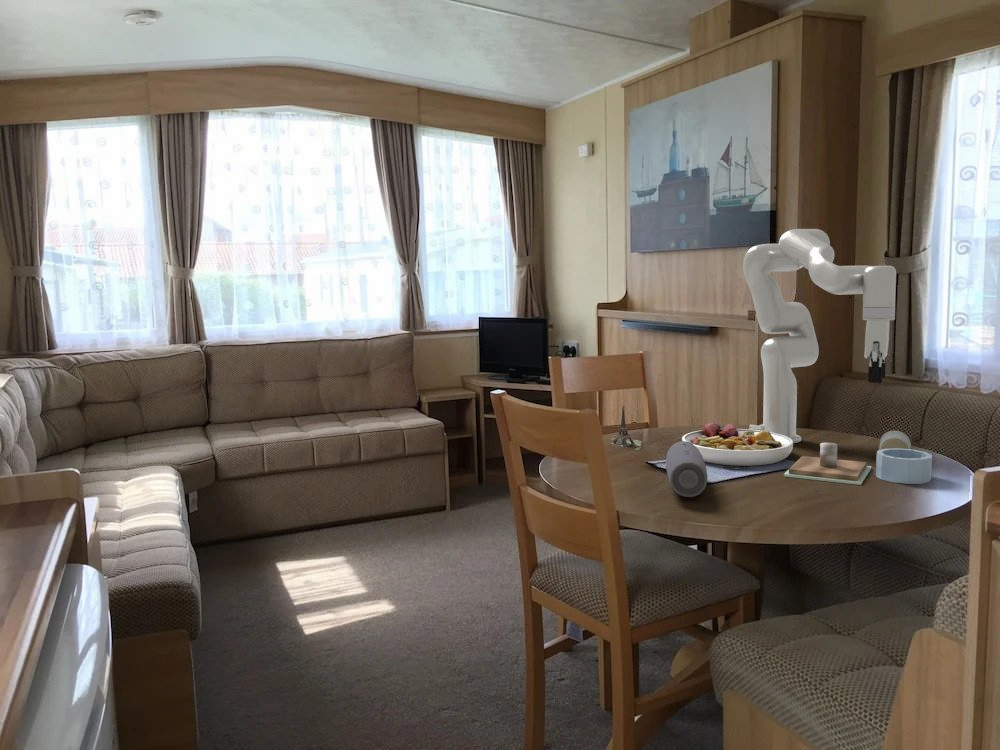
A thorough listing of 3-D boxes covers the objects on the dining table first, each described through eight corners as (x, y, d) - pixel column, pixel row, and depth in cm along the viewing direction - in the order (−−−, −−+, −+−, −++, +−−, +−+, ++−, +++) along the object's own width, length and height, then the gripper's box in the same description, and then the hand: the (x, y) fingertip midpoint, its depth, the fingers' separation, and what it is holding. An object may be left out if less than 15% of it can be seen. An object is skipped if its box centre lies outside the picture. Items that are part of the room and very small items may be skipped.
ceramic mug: (878, 463, 213) (880, 435, 212) (878, 456, 221) (880, 429, 219) (923, 467, 209) (925, 438, 208) (922, 460, 216) (924, 432, 215)
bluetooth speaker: (664, 476, 205) (664, 438, 204) (701, 477, 204) (701, 439, 202) (667, 502, 183) (667, 459, 182) (709, 503, 181) (709, 460, 180)
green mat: (783, 476, 202) (783, 474, 202) (799, 461, 217) (799, 459, 217) (860, 485, 193) (860, 482, 193) (871, 468, 208) (871, 466, 208)
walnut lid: (788, 473, 202) (789, 447, 202) (802, 460, 216) (802, 435, 215) (857, 481, 194) (857, 453, 193) (866, 466, 207) (867, 441, 206)
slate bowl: (873, 480, 197) (874, 456, 196) (879, 469, 207) (880, 446, 206) (928, 486, 190) (929, 461, 189) (932, 474, 200) (933, 451, 200)
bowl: (816, 461, 218) (817, 433, 217) (726, 474, 207) (726, 444, 206) (745, 441, 246) (745, 415, 245) (661, 451, 235) (661, 425, 234)
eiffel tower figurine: (640, 451, 236) (640, 407, 234) (606, 451, 238) (605, 406, 236) (642, 441, 250) (642, 398, 249) (610, 440, 253) (610, 398, 251)
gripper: (865, 312, 214) (864, 375, 216) (859, 316, 199) (857, 383, 202) (897, 312, 211) (895, 376, 213) (892, 316, 196) (890, 385, 198)
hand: (876, 380), depth 207 cm, fingers open, 9 cm apart
